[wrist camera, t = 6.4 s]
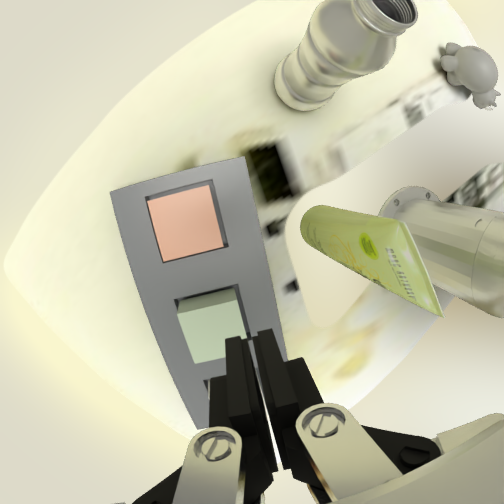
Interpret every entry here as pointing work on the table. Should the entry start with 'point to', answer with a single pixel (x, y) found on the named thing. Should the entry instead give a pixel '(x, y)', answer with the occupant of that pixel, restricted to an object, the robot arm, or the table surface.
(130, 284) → the table surface
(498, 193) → the table surface
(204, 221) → the terracotta button
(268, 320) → the panel
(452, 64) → the chubby cartoon animal
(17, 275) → the table surface
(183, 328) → the sage button
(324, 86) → the plastic bottle
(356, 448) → the robot arm
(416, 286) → the tube
